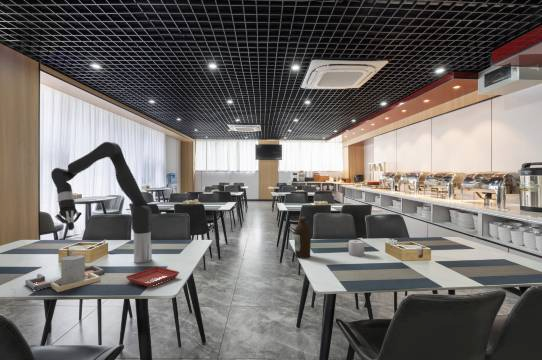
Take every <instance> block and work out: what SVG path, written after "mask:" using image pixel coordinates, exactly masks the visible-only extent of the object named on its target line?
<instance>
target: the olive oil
mask: <svg viewBox="0 0 542 360" xmlns="http://www.w3.org/2000/svg"><path fill="white" fill-rule="evenodd" d="M293 236H294V238H293V240H294V256H295V257H296V258H297V259H309V258H311V241H312V240H311V239H312V230H311V228H310V227H309V226H308V224H307V223H306V217H305V216H300V217H299V223H298V224H297V226H296V227H295V228H294V230H293Z"/></svg>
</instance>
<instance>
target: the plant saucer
mask: <svg viewBox="0 0 542 360" xmlns="http://www.w3.org/2000/svg"><path fill="white" fill-rule="evenodd" d="M179 274H180V271H178V270H173V269H169V268H166V267H161V266H154V267H151V268H147V269H145V270H142V271H138V272H135V273H132V274H129V275H126V276H125V278H126V279H127V280H128V281H130V283H133V284H136V283H137V284H136V285H139V284H141V285H140V286H142V285H144V286H143V287H145V286H147V287H146V288H148V287H150V286H153V285H156V284H158V283H161V282H164V281H166V282H168V281H167V280H169V279H172V278H174V279H176V278H177V276H178V275H179ZM162 276H167V277H165V278H162V279H160V280H157V281H154V282H151V283H145V282H147V281H149V282H150V280H151V279H152V278H153V279H154V278H159V277H162ZM172 280H173V279H172ZM169 281H170V280H169ZM164 283H165V282H164ZM161 284H162V283H161ZM158 285H159V284H158ZM156 286H157V285H156ZM153 287H154V286H153ZM150 288H151V287H150Z"/></svg>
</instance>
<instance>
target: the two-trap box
mask: <svg viewBox="0 0 542 360" xmlns="http://www.w3.org/2000/svg"><path fill="white" fill-rule="evenodd" d="M104 274H105V269H104V268H101V267H98V266H96V265H94V264H93V265H88V266H85V277H88V278H87V279H86V278H85V280H82V281H78V282H74V283H70V284H66V285H62V286H61V285H59V284H57V283H55V282H54V281H50V282H47V281H46V276H45V275H43V274H41V273H37V274H36V277H34V278H29V279H25V284H26V286H27V285H28V286H29V287H31V288H32V289H33V290H37V291H39V290H38V289H41V290H44V289H43V288H45V289H48V288H47V287H49V288H51V287H52V288H51V289H53V290H54V291H56V293H59V292H64V291H67V290H72V289H74V288H78V287H82V286H86V285H90V284H93V283H97V282H100V281H101V276H100V275H104ZM36 282H37V283H36ZM34 283H35V284H38V285H35V284H34ZM28 286H27V287H28ZM29 287H28V288H29ZM31 288H30V289H31ZM32 289H31V290H32ZM33 290H32V291H33Z"/></svg>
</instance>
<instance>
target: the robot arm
mask: <svg viewBox="0 0 542 360" xmlns="http://www.w3.org/2000/svg"><path fill="white" fill-rule="evenodd" d="M106 158H109V159H110V161H111V162H112V165H113V166H114V170H115V171H114V172H115V178H116V181H117V184H118V186H119V187H120V190H121V191H122V192H123V194H124V195H126V197H127V198H128V199H129V200H130V202H131V203H132V205H133V208H134V209H133V210H132V215H131V221H132V222H131V223H132V229H133V262H134V263H137V264H138V263H139V264H141V263H142V264H143V263H147V262H150V261H151V260H152V259H153V257H152V255H153V254H152V252H153V251H152V250H153V249H152V248H153V247H152V245H153V244H152V243H151V230H152V229H151V226H150V221H149V219H150V218H151V216H152V213H153V211H152V208H151V207H150V205H149V204H148V202H147V201H146V199H145V197H144V196H143V193H142V191H141V189H140V187H139V185H138V183H137V181H136V179H135V176H134V174H133V173H132V171H131V169H130V166H129V165H128V163H127V161H126V159H125V157H124V153H123V151H122V148H121V147H120V145H119V144H118V143H116V142H113V141H104V142H102V143H101V144H99V145H98V146H97V147H95V148H94V149H93V150H91V151H89V153H86V154H85V155H83V156H82V157H80V158H78V159H76V160H74V161H71V162H69V164H68V165H67V168H66V169H65V168H63V167H55V168H53V169H52V171H51V179H52V182H53V184H54V186H55V187H56V192H57V202H58V207H59V211H58V214H55V216H54V217H55V219H57V220H58V221H59V222H60V223H62V224H63V225H64V224H66V226H67V230H68V231H73V230H74V229H75V224H74V223H76V222H77V221H78V220H79V218H80V217H81V215H82V212H79V211H78V210H77V209H76V201H75V196H74V193H73V190H72V184H70V183H69V181H71V180H73V179H74V178H75V177H76V176H77V175H78V174H79V173H82V172H83V171H86V170H87V169H88V168H90V167H91V166H93V165H94V164H95V163H97V161H100V160H103V159H106Z"/></svg>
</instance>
